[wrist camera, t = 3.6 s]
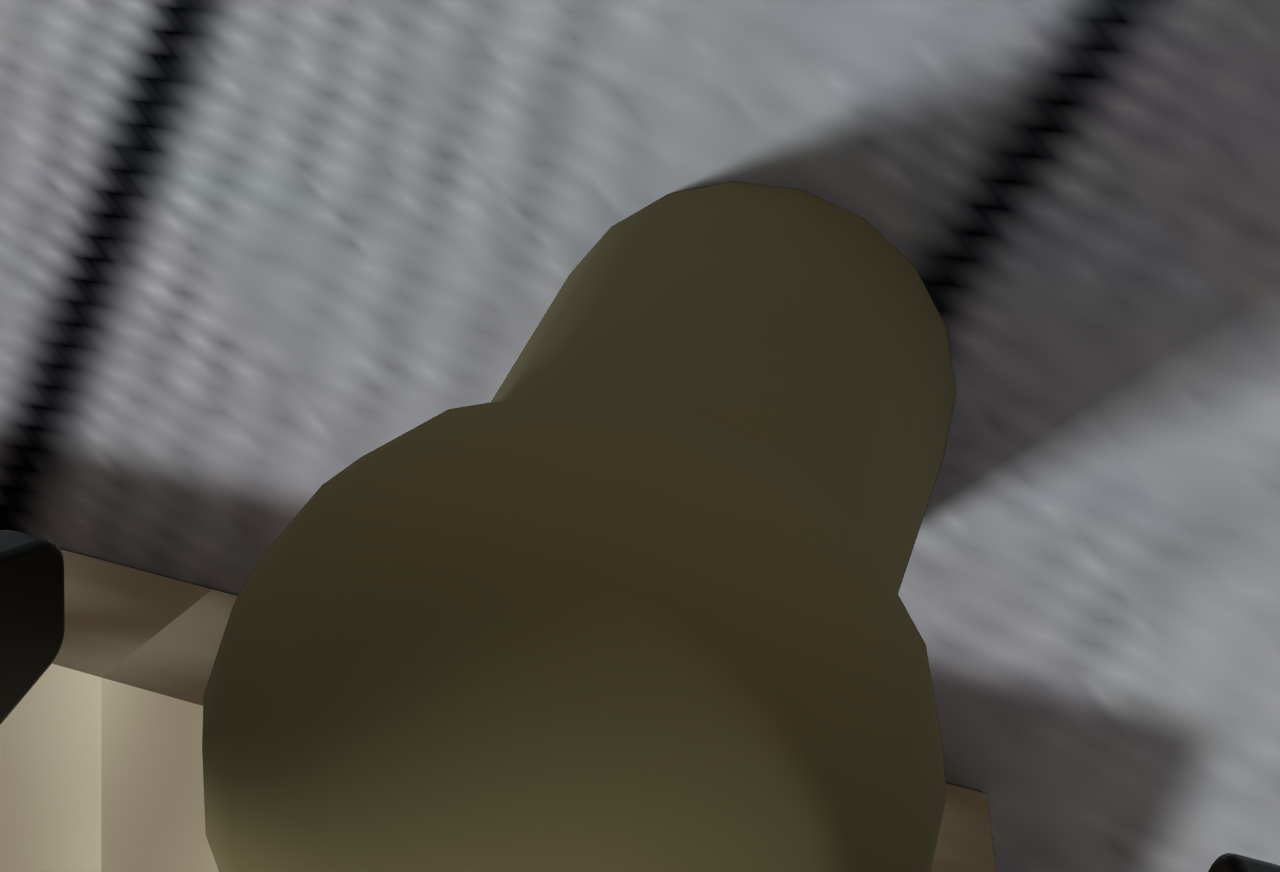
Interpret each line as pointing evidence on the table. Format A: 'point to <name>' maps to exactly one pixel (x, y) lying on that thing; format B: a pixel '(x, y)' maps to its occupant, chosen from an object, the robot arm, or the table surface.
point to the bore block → (175, 737)
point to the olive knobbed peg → (619, 584)
